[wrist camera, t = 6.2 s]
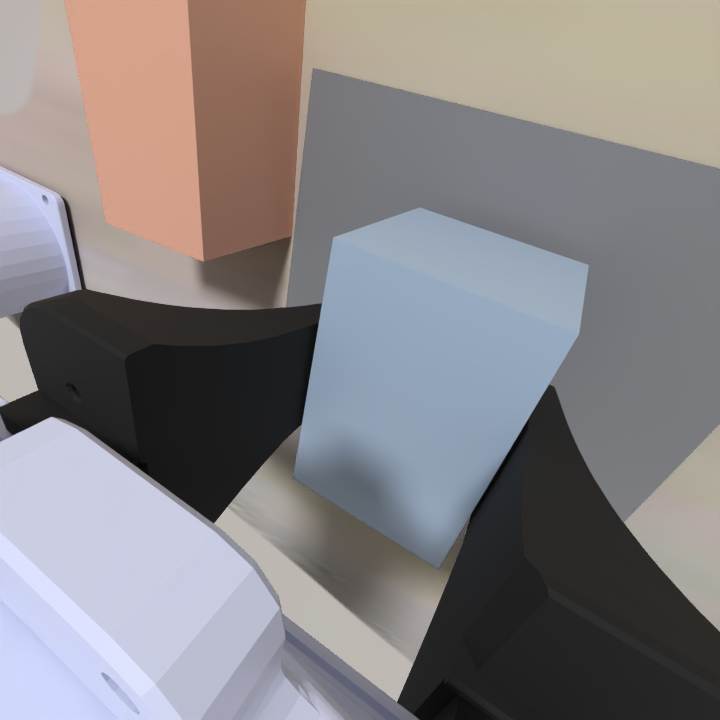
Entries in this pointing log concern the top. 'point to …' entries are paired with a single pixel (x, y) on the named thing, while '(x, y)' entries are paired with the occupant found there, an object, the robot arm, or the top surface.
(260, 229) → the upper brick
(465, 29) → the top surface
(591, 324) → the baseplate
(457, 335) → the lower brick
